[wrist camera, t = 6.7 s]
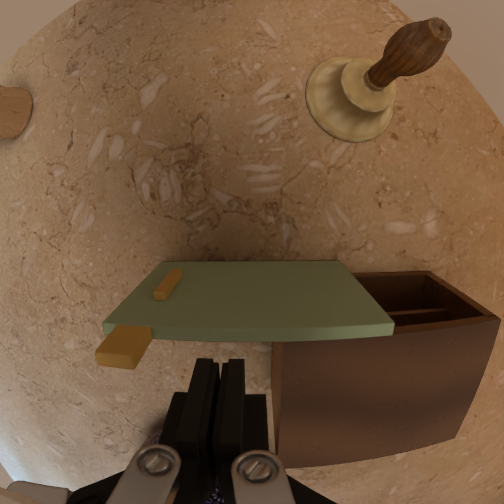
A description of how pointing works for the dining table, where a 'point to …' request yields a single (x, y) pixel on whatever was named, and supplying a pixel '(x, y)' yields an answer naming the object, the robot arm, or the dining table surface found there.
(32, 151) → the dining table surface
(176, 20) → the dining table surface
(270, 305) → the sliding door
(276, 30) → the dining table surface
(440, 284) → the cupboard
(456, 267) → the dining table surface
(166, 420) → the robot arm
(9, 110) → the beer glass
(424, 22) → the hand bell
